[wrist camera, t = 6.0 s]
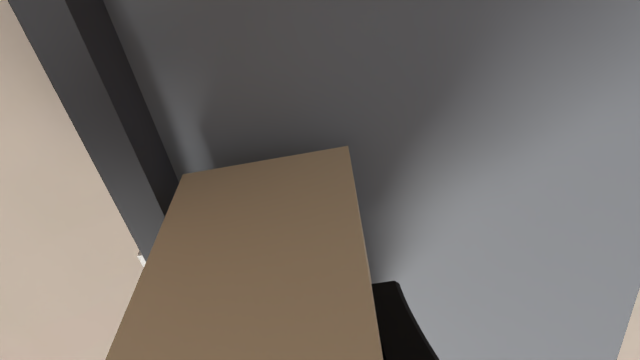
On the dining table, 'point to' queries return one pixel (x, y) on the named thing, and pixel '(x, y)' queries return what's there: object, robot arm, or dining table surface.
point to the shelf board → (392, 140)
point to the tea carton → (257, 268)
